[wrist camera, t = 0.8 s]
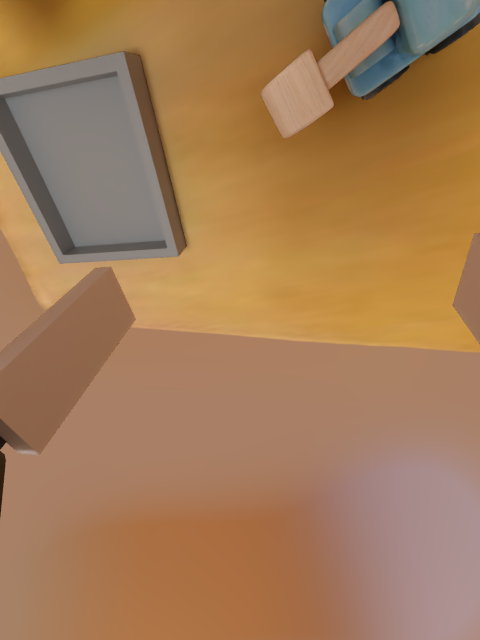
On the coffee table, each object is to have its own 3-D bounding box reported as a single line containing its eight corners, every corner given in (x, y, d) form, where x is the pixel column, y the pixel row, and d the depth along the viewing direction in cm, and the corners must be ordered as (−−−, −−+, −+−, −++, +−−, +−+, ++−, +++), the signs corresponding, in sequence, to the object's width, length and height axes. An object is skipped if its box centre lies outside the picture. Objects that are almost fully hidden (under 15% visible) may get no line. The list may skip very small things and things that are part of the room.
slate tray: (-7, 86, 33) (-34, 85, 31) (139, 55, 30) (123, 51, 27) (74, 253, 45) (59, 263, 42) (186, 245, 41) (178, 256, 38)
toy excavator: (256, 59, 29) (218, 24, 15) (453, -120, 21) (731, -512, 8) (299, 145, 32) (299, 179, 19) (479, 17, 25) (699, -80, 11)
